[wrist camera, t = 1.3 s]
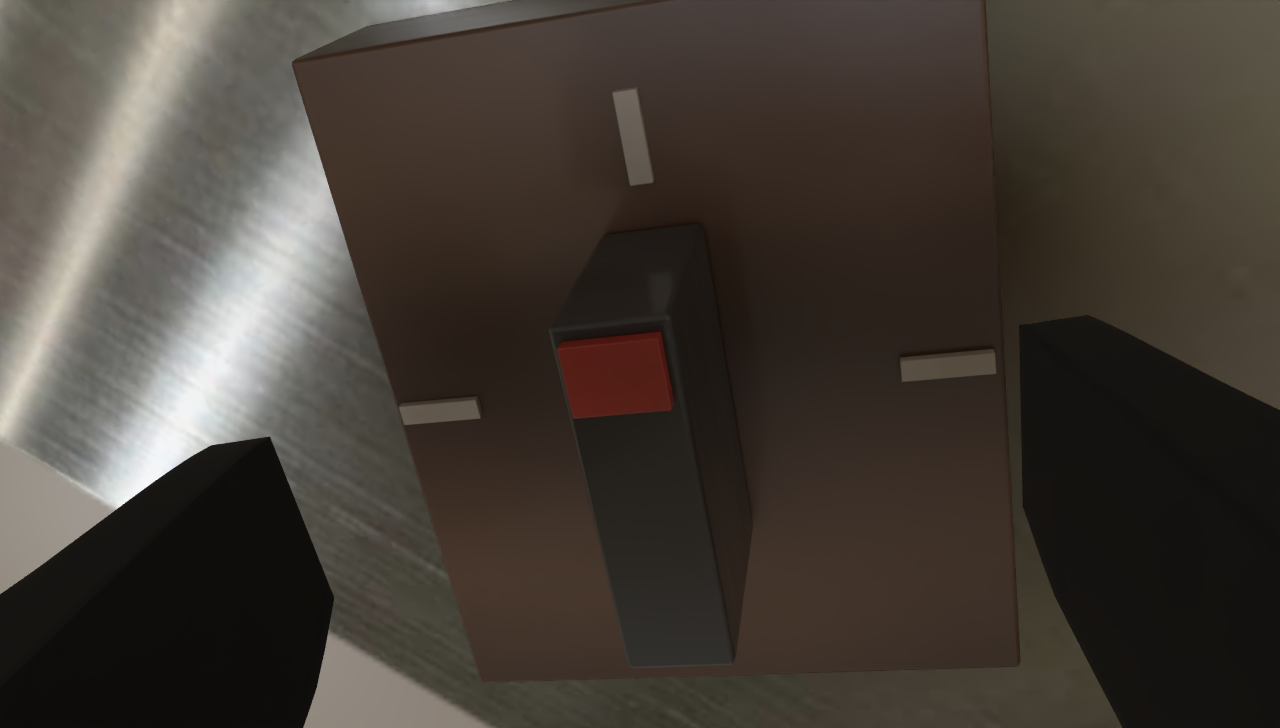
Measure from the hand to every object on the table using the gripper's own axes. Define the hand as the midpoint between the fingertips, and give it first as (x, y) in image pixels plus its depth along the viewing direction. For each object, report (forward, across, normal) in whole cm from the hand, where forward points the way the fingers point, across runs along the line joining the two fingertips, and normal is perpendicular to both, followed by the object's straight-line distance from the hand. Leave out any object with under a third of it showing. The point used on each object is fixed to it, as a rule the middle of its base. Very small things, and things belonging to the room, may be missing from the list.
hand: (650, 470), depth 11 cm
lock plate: (+10, 0, +3) cm, 10 cm away
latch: (+7, 0, +3) cm, 7 cm away
